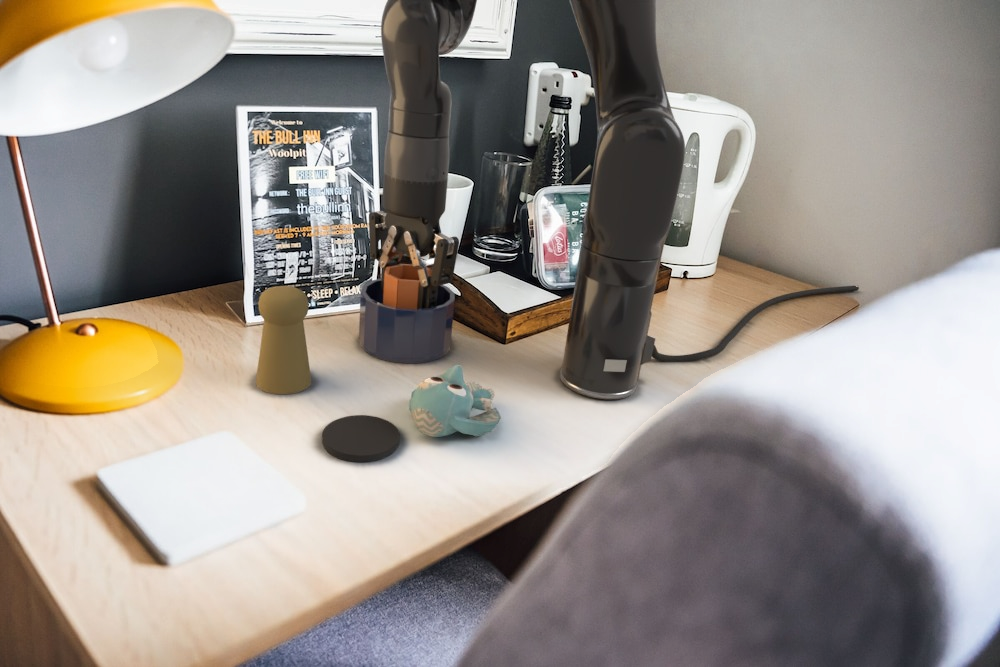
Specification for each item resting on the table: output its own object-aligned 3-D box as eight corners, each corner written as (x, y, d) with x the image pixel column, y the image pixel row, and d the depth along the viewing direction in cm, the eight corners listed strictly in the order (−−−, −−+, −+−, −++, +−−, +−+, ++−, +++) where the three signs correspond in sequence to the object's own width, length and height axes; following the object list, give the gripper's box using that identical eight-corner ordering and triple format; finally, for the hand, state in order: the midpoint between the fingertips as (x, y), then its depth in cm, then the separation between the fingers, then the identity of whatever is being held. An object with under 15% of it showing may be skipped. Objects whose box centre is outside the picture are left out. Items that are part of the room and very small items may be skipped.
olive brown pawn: (297, 398, 83) (297, 304, 79) (245, 388, 84) (243, 294, 80) (320, 375, 89) (322, 285, 84) (271, 365, 89) (270, 276, 85)
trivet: (367, 414, 82) (367, 407, 81) (415, 444, 77) (415, 437, 77) (306, 437, 76) (306, 430, 76) (354, 471, 72) (354, 464, 72)
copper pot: (408, 325, 103) (412, 261, 99) (440, 341, 99) (445, 275, 96) (372, 335, 98) (374, 269, 95) (404, 353, 95) (408, 284, 91)
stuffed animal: (533, 371, 83) (476, 390, 73) (519, 432, 85) (461, 459, 74) (452, 341, 88) (387, 355, 78) (440, 399, 90) (375, 421, 79)
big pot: (408, 318, 107) (412, 271, 104) (468, 348, 100) (473, 298, 97) (340, 338, 98) (342, 287, 96) (400, 371, 92) (404, 317, 89)
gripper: (482, 182, 89) (468, 316, 95) (400, 157, 97) (393, 281, 104) (434, 189, 83) (424, 330, 90) (352, 161, 92) (348, 292, 98)
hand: (407, 303), depth 97 cm, fingers closed on copper pot, 6 cm apart
